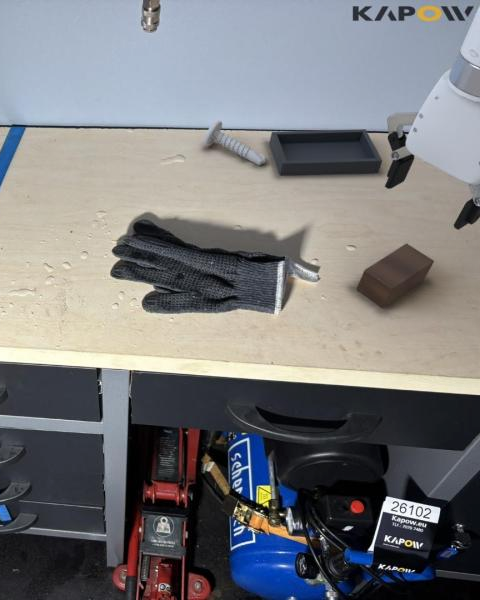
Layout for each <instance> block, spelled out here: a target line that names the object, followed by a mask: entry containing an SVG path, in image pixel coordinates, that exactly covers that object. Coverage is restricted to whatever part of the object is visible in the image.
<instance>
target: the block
mask: <svg viewBox="0 0 480 600" xmlns="http://www.w3.org/2000/svg"><path fill="white" fill-rule="evenodd" d="M434 263H435V260H434V259H432V258H431V257H429V256H427V255H426V254H424V253H423V252H421V251H420V250H418V249H417V248H415V247H413V246H411V245H410V244H408V243H407V242H406V243H405V244H403V245H402V246H399V247H398V248H397V249H395V250H394V251H391V252H390V253H389V254H387V255H386V256H384V257H382V258H381V259H379V260H378V261H376V262H374V263H373V264H372V265H370V266H368V267H367V268H365V269H364V270H363V273H362V275H361V278H360V280H359V282H358V284H357V286H356V288H355V289H356V291H357V292H359V293H360V294H362V295H363V296H365V297H366V298H367V299H369V300H370V301H371V302H373V303H374V304H375V305H377V306H378V307H380V308H381V309H384V308H386V307H388V306H389V305H390V304H392V303H393V302H395V301H396V300H398V299H399V298H401V297H402V296H403V295H404V294H406V293H408V292H409V291H411V290H412V289H414V288H415V287H416V286H418V285H419V284H421V283H423V281H425V279H426V277H427V275H428V273H429V272H430V270H431V269H432V267H433V264H434Z"/></svg>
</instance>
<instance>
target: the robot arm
mask: <svg viewBox="0 0 480 600" xmlns="http://www.w3.org/2000/svg"><path fill="white" fill-rule="evenodd" d="M386 123H387V132H388V135H387V141H388V144H389V146H390V149H391V152H390V157H391V159H392V162H391V164H390V167H389V169H388V171H387V174H386V177H387V179H386V183H385V185H384V188H386V189H388V190H392V189H393V188H395V187H397V186H399V185H400V184H402V183H403V182H405V180H406V178H407V176H408V175H409V172H410V169H411V167H412V165H413V163H414V160H415V157H416V158H418V159H419V160H421V161H423V162H425V163H426V164H429V165H430V166H433V167H434V168H436V169H438V170H440V171H441V172H444V173H445V174H447V175H450V176H451V177H453V178H455V179H457V180H459V181H461V182H463V183H465V184H468V186H469V191H470V195H471V198H470V199H469V200H467V201H466V202H465V204H464V205H463V207H462V209H461V211H460V212H459V214H458V216H457V218H456V220H455V221H454V223H453V228H454V229H456V230H457V231H459V230H461V229H462V228H464V227H465V226H467V225H468V224H469V225H471V226H473V225H474V224H475V223H476V222H477V221H478V220H479V219H480V5H479V6H478V9H477V10H476V12H475V15H474V17H473V19H472V22H471V24H470V26H469V29H468V31H467V33H466V35H465V38H464V40H463V42H462V44H461V46H460V49H459V51H458V52H457V56H456V58H455V60H454V62H453V65H452V66H451V68H450V69H448V70H447V71H445V72H444V73H443V74H442V76H441V77H440V78H439V79H438V81H437V82H436V83H435V85H434V87H433V88H432V90H431V91H430V93H429V94H428V96H427V98H426V99H425V101H424V102H423V104H422V105H421V107H420V109H419V111H411V112H410V111H409V112H408V111H407V112H395V113H393V114H391V115H389V116H387V119H386ZM404 126H410V129H409V131H408V134H407V135H406V133H405V130H403V129H404Z"/></svg>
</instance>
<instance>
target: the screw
mask: <svg viewBox="0 0 480 600" xmlns="http://www.w3.org/2000/svg"><path fill="white" fill-rule="evenodd" d="M222 128H223V122H222V120H218V121H216V122H214V123H212V124H211V125H210V126H209V128H208V130H206V133H205V135H204V147H206V148H209V147H211V146H212V145H213V144H214V143H215V144H217V143H218V145H219V146H222V147H223V148H227V151H231V153H235V155H237V156H238V155H239V157H240V158H244V160H246V159H247V160H248V161H250V162H252V163H254V164H255V165H257V166H261V165H263V164H265V163H266V157H265V155H263V154H261V153H260V152H258V151H255V150H253V149H252V148H251V146H247V145H246V144H243V143H242V141H238V139H234V137H233V136H232V137H231V136H230V134H225V132H221V130H222Z"/></svg>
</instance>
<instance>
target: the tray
mask: <svg viewBox="0 0 480 600" xmlns="http://www.w3.org/2000/svg"><path fill="white" fill-rule="evenodd" d="M269 147H270V151H271V153H272V156H273V159H274V162H275V165H276V168H277V172H278V174H279V176H310V175H311V176H313V175H349V174H350V175H352V174H354V175H355V174H379V171H380V168H381V165H382V163H383V158H382V157H381V156H380V154H379V151H378V149H377V148H376V146H375V144H374V142H373V140H372V139H371V137H370V135H369V133H368V131H367V129H365V128H364V129H361V128H360V129H329V130H328V129H326V130H294V131H271V134H270V139H269Z"/></svg>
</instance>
